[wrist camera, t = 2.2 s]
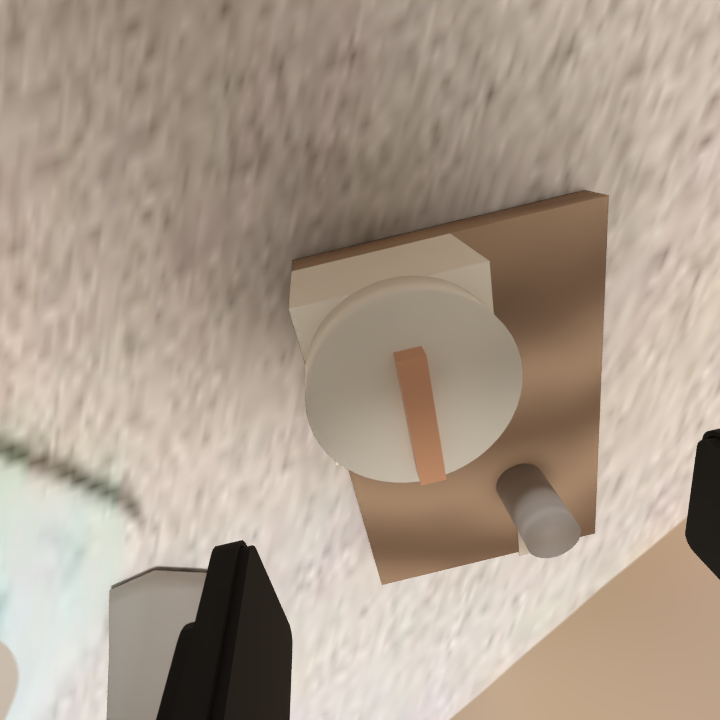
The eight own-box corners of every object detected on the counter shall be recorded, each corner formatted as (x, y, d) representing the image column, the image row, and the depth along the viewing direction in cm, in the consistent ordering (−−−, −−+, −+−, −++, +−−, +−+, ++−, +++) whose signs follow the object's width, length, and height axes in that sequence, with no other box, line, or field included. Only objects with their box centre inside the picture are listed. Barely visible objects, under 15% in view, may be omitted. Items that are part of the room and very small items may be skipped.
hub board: (292, 260, 18) (288, 303, 14) (584, 190, 18) (677, 209, 14) (378, 562, 27) (393, 651, 22) (579, 514, 27) (635, 592, 22)
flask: (88, 577, 25) (-32, 828, 16) (223, 554, 25) (179, 787, 16) (133, 656, 28) (55, 900, 19) (251, 635, 28) (228, 865, 20)
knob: (284, 267, 17) (275, 333, 11) (455, 226, 17) (527, 272, 11) (326, 410, 20) (335, 516, 14) (471, 375, 20) (535, 468, 14)
